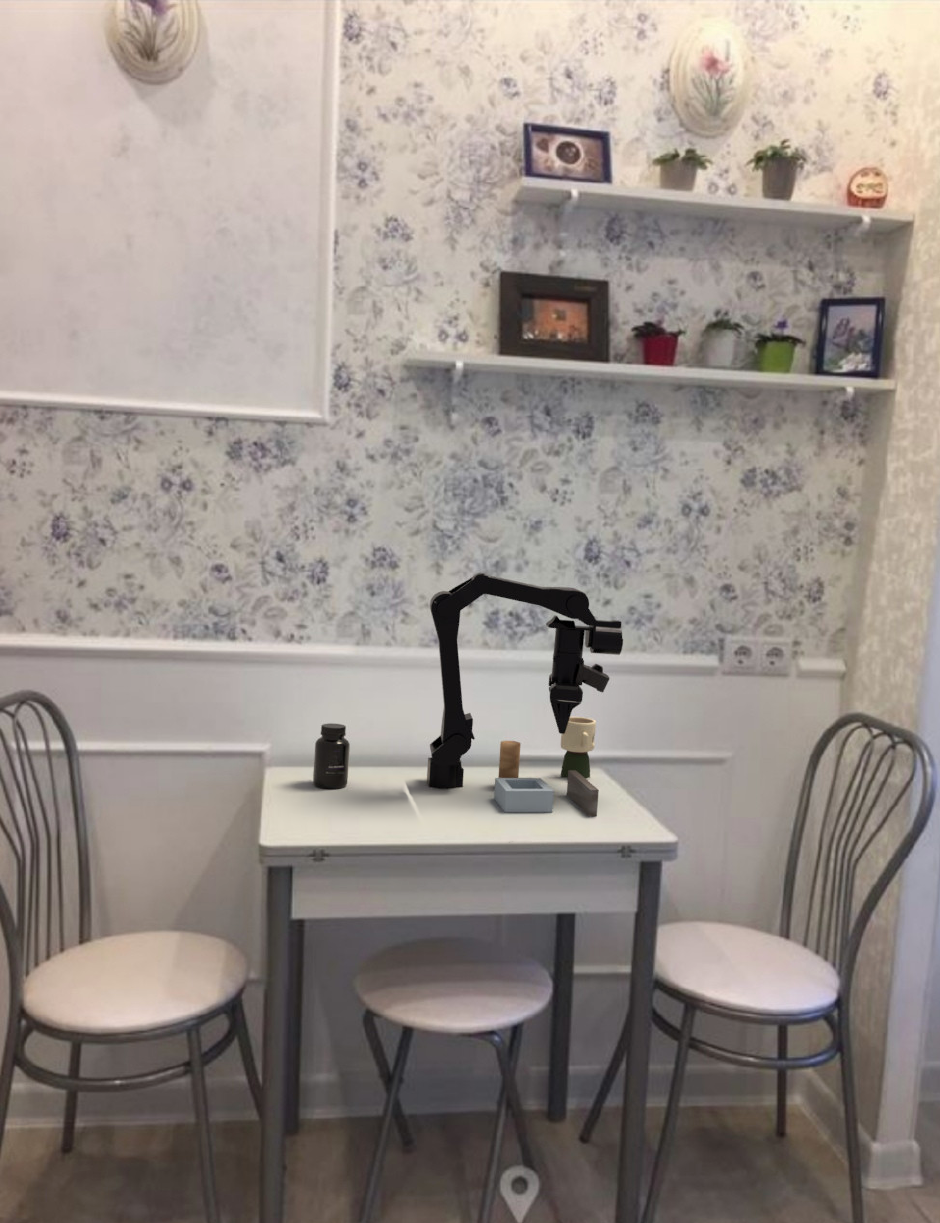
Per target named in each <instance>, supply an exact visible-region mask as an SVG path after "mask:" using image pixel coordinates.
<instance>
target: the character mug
mask: <svg viewBox="0 0 940 1223" xmlns="http://www.w3.org/2000/svg"><path fill="white" fill-rule="evenodd" d="M596 725H597V721H596V720H595V719H592V718H588V717H582V716H570V718H569V722H568V725H567V728H566V731H565V733H564V734H560V735H561V736H560V748H561V749H562V750H565V751H566V752H565V754H564V756H563V761H562V766H561V770H560V777H561V778H562V779H563V778H566V779H568V770H576V771H577V772H578V773H579V774H581V775H582V776H583V777H584V778H585V779H586V780H587V779H588V778H589V779H590V778H591V766H590V755H589V754H588V753H589V752H592V751H593V750H594V749H595V735H596V732H597V731H596V727H597V726H596Z"/></svg>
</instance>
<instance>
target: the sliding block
mask: <svg viewBox="0 0 940 1223" xmlns="http://www.w3.org/2000/svg"><path fill="white" fill-rule="evenodd" d="M493 791H494V794H493V799H494V800H495V801H496V803H497V804H498V805H499V807H500V808H501V809H502V811H503V812H504V813H553V810H554V809H553V808H554V807H553V805H554V792H555V791H554V789H553V788H551V787H550V786H549V785H548V784H547V783H546V781H544V780H543V779H542V778H541V777H518V778H498V777H495V778H494V790H493Z"/></svg>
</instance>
